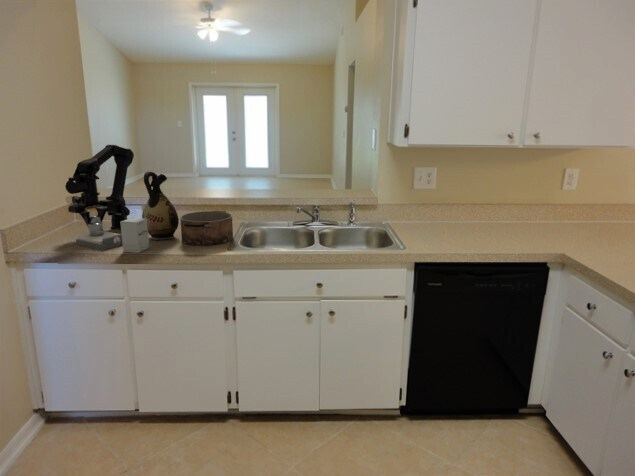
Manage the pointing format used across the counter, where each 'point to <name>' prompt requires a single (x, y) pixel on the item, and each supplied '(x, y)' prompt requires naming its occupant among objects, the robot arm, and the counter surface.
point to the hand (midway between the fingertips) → (94, 224)
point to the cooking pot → (206, 228)
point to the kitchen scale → (101, 240)
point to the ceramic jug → (159, 209)
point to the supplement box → (134, 235)
